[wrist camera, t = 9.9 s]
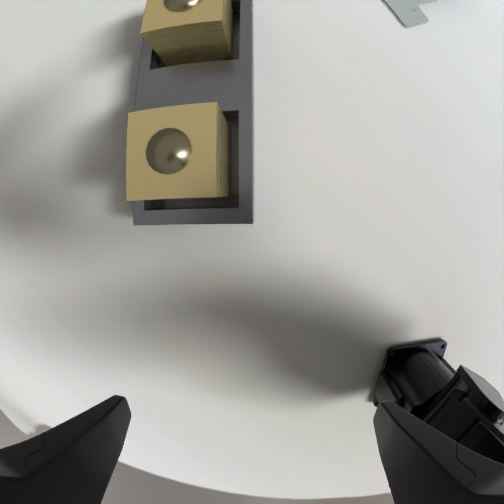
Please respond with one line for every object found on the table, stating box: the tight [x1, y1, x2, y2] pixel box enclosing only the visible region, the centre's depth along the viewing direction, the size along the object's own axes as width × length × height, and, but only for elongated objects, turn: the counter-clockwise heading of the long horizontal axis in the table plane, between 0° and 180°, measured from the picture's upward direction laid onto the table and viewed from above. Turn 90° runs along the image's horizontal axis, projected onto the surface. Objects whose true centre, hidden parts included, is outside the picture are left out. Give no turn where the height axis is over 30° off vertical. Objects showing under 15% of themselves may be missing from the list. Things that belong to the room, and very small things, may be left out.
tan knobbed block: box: [140, 0, 234, 67], centre depth 13 cm, size 4×4×6 cm
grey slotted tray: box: [133, 0, 254, 225], centre depth 16 cm, size 8×17×2 cm, turn 0°
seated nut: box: [126, 102, 231, 201], centre depth 15 cm, size 4×4×6 cm
